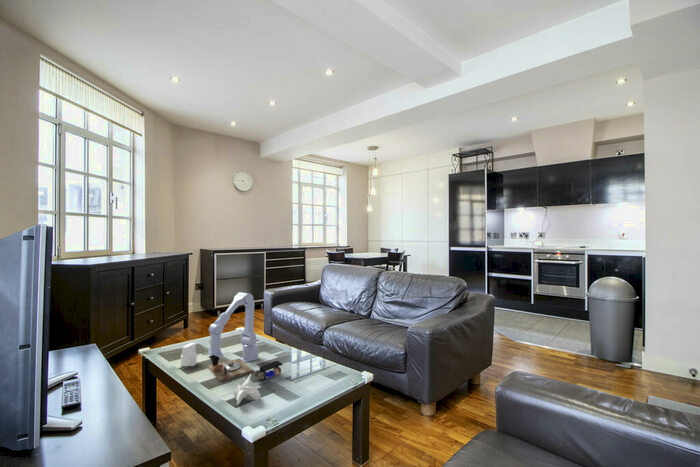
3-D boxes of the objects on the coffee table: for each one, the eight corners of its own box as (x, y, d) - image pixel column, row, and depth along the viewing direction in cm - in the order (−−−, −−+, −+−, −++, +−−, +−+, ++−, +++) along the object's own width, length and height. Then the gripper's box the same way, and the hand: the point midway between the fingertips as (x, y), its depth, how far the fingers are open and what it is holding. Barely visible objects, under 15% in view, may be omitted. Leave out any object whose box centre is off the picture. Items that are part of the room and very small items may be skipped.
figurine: (238, 414, 158) (256, 411, 152) (222, 402, 154) (241, 398, 149) (251, 387, 170) (269, 383, 164) (237, 375, 166) (255, 370, 160)
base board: (239, 360, 209) (239, 353, 209) (253, 372, 191) (253, 363, 191) (208, 368, 196) (208, 360, 197) (220, 381, 179) (220, 372, 179)
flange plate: (238, 362, 201) (238, 358, 201) (241, 369, 191) (241, 364, 191) (211, 367, 194) (211, 362, 194) (213, 374, 184) (213, 369, 184)
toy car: (260, 386, 176) (284, 375, 187) (258, 373, 175) (282, 362, 186) (254, 382, 181) (277, 371, 191) (252, 369, 180) (276, 359, 191)
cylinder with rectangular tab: (190, 367, 198) (190, 348, 198) (177, 366, 199) (177, 346, 200) (199, 362, 206) (200, 343, 207) (187, 361, 208) (187, 342, 208)
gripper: (203, 343, 193) (202, 366, 193) (214, 348, 184) (214, 372, 183) (214, 340, 199) (214, 362, 198) (226, 345, 189) (226, 369, 189)
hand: (215, 367), depth 191 cm, fingers closed, pressing on flange plate
